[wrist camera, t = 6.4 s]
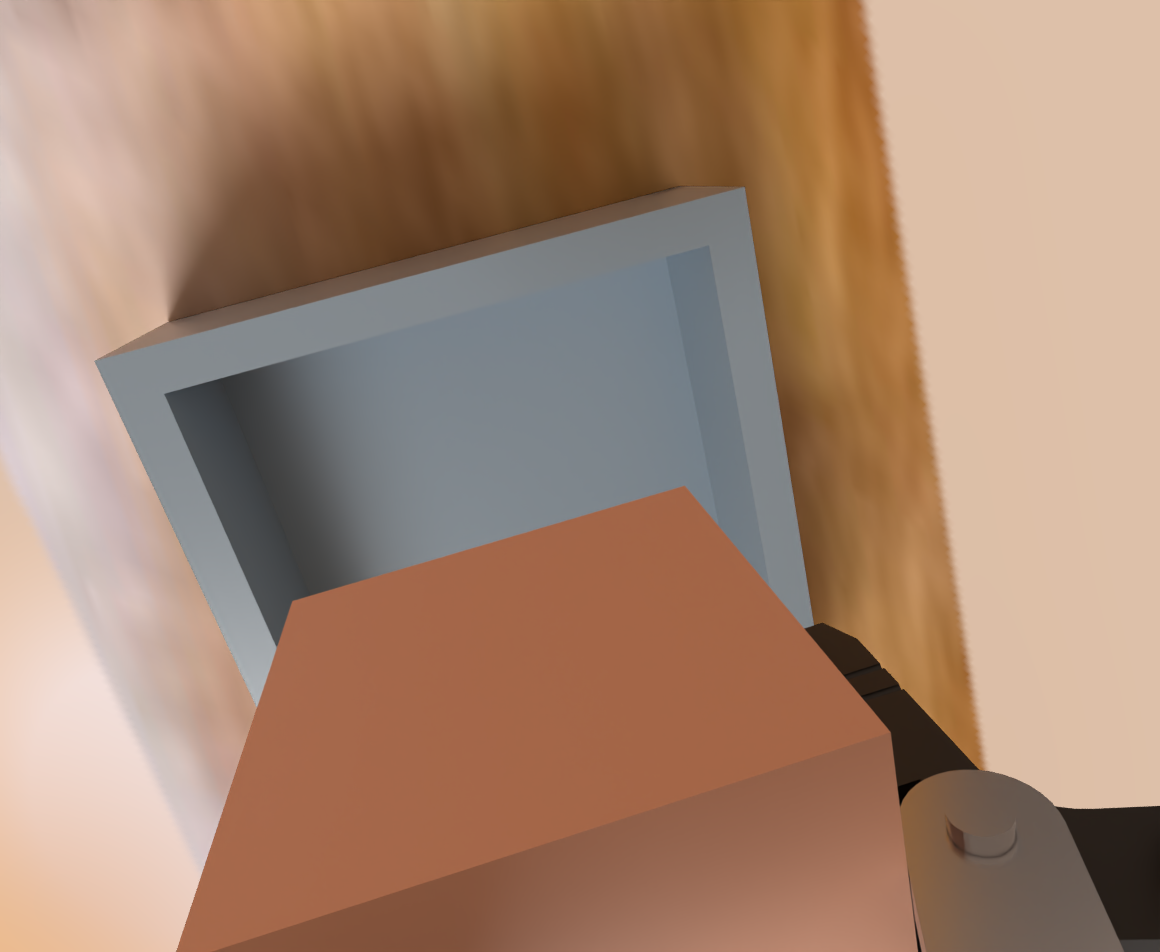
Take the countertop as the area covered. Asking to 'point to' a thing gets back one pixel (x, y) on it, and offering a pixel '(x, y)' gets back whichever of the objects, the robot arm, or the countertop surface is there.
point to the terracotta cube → (560, 762)
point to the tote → (466, 407)
